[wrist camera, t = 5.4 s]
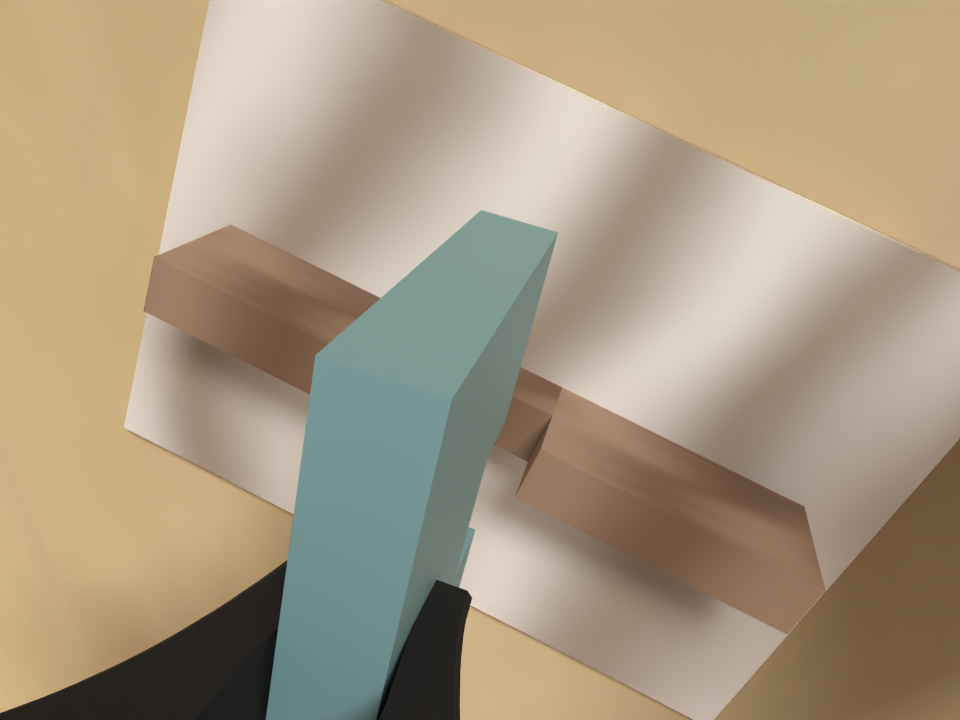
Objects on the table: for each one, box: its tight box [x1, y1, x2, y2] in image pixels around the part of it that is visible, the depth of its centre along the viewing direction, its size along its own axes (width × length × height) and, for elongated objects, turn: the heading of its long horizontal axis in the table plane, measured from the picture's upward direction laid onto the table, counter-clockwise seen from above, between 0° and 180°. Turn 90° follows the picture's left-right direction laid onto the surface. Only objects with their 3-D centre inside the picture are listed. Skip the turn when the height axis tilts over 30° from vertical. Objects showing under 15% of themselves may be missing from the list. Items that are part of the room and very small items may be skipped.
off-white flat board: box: [124, 0, 960, 720], centre depth 20 cm, size 22×16×4 cm
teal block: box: [266, 210, 558, 720], centre depth 14 cm, size 2×12×8 cm, turn 167°
